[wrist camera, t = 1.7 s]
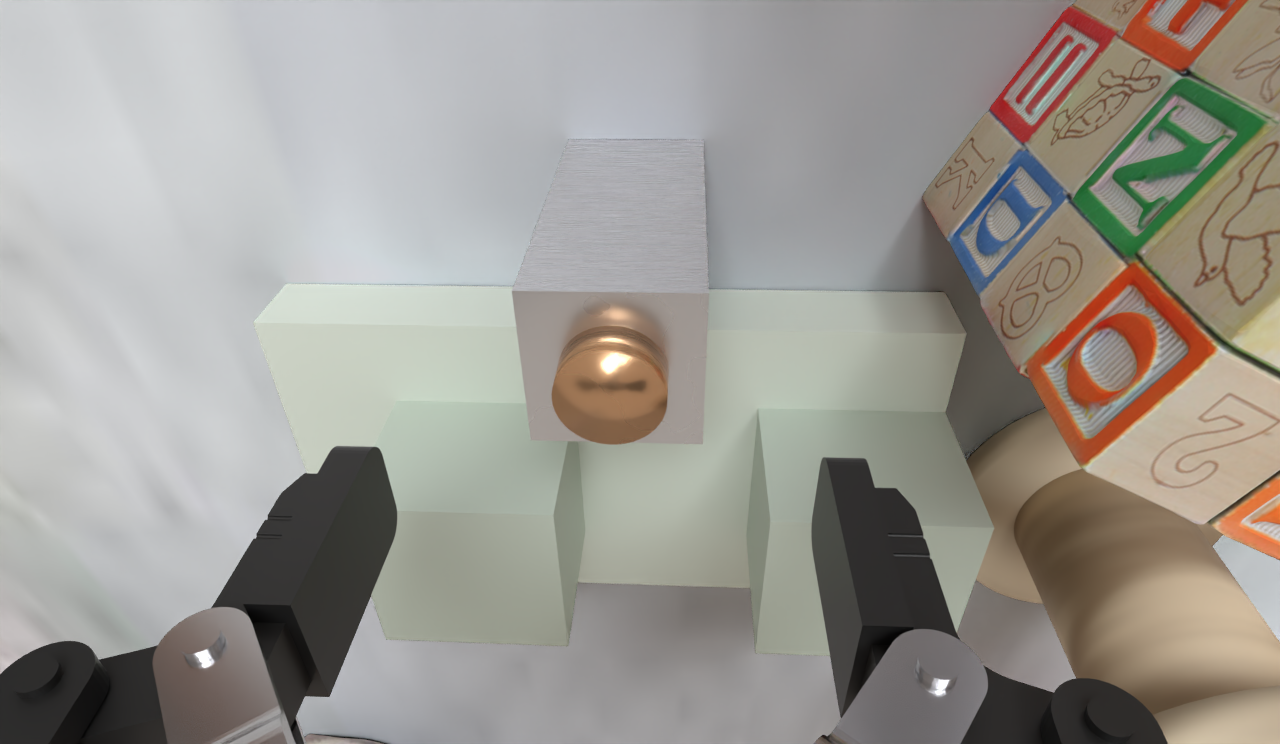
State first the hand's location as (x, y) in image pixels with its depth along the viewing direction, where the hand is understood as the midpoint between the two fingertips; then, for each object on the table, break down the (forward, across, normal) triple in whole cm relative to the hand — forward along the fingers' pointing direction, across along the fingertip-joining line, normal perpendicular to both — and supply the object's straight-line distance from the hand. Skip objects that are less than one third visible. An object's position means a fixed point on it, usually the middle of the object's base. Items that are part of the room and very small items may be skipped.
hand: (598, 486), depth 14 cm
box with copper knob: (+12, 0, 0) cm, 12 cm away
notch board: (+12, +1, +9) cm, 15 cm away
